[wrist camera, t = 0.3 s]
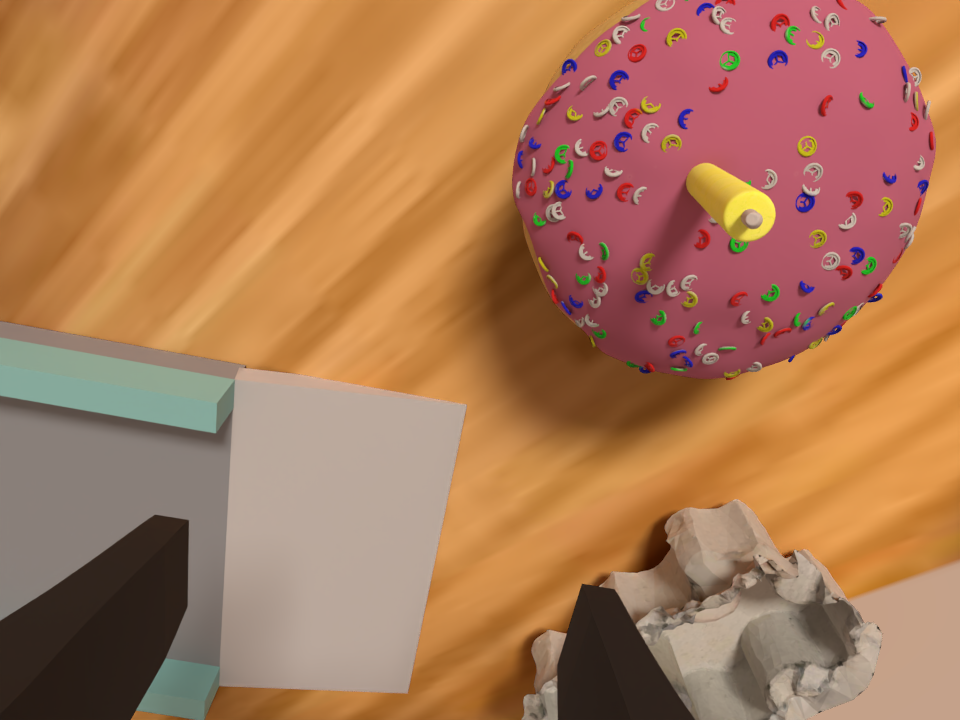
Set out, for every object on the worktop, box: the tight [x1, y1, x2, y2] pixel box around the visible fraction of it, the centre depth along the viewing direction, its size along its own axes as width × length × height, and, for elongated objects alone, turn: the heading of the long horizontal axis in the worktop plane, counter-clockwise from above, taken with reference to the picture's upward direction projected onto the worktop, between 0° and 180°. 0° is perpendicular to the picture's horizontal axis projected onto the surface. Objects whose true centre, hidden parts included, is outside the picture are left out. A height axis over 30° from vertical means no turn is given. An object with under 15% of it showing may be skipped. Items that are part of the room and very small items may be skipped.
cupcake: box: [512, 0, 936, 380], centre depth 14 cm, size 9×8×12 cm
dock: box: [0, 321, 467, 720], centre depth 24 cm, size 13×21×4 cm, turn 79°
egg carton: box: [522, 499, 882, 720], centre depth 24 cm, size 11×8×4 cm
